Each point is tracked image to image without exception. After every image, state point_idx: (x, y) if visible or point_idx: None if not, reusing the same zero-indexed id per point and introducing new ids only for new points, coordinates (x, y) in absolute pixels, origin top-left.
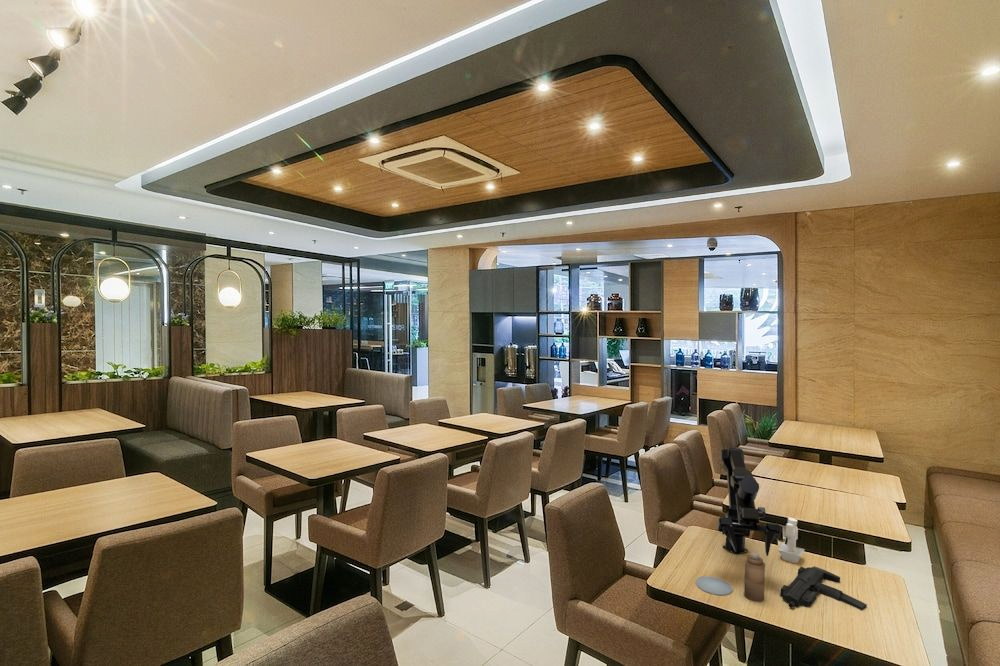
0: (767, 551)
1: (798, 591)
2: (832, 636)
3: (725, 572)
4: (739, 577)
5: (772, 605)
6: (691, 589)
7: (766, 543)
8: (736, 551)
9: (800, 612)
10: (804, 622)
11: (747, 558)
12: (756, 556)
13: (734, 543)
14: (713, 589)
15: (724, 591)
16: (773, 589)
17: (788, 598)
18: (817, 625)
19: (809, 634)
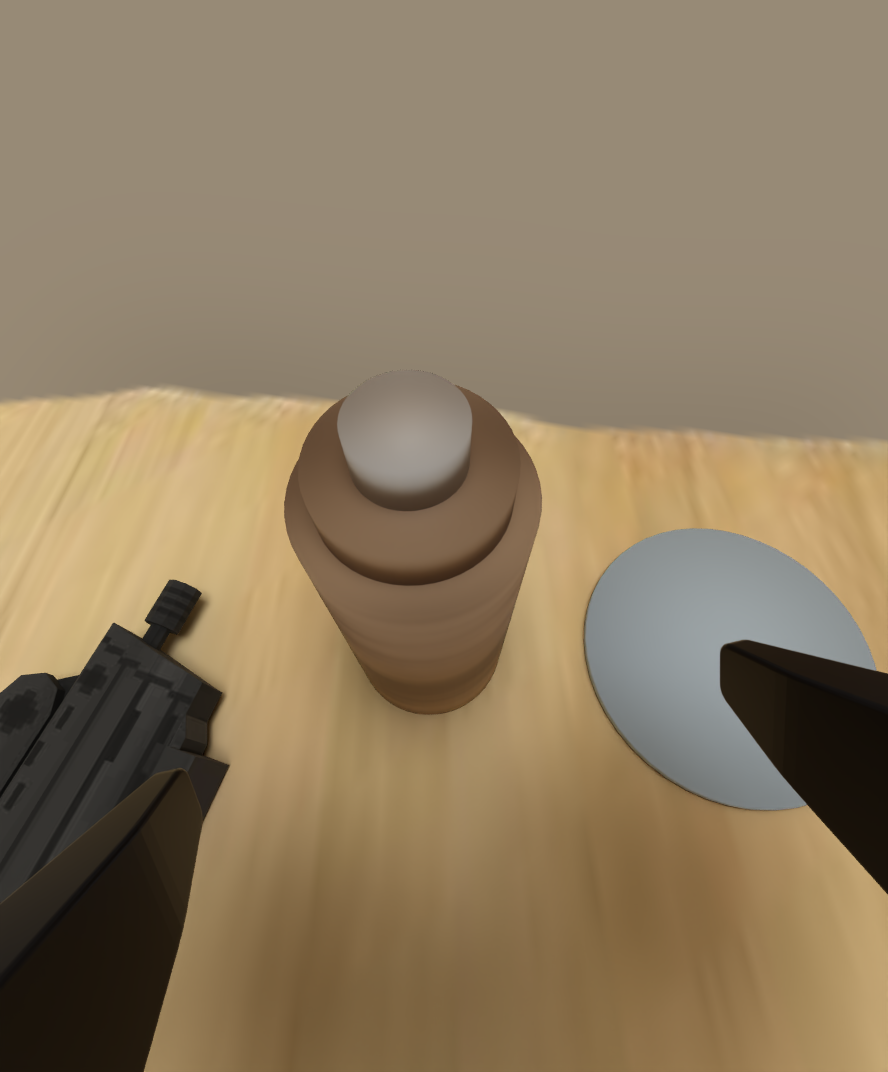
0: (139, 808)
1: (38, 794)
2: (51, 426)
3: (737, 1057)
4: (579, 998)
5: (311, 586)
6: (825, 527)
7: (9, 1056)
8: (721, 666)
9: (141, 586)
10: (156, 485)
11: (512, 444)
12: (386, 373)
13: (867, 677)
14: (704, 578)
15: (630, 588)
16: (263, 883)
17: (174, 663)
18: (89, 489)
19: (168, 394)
